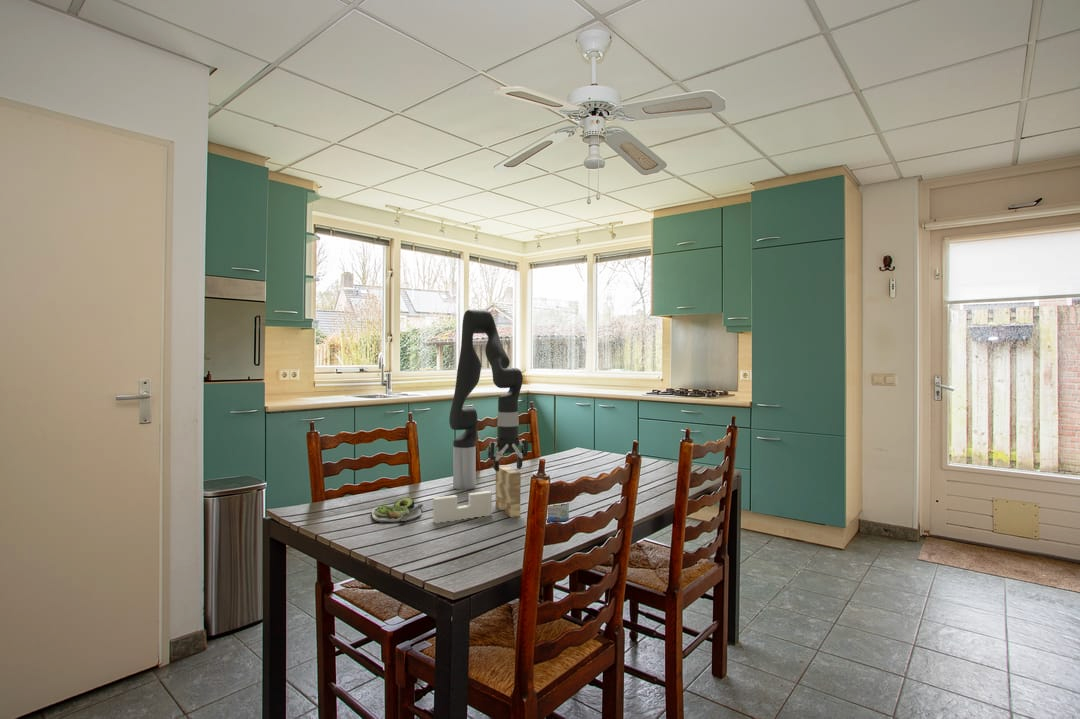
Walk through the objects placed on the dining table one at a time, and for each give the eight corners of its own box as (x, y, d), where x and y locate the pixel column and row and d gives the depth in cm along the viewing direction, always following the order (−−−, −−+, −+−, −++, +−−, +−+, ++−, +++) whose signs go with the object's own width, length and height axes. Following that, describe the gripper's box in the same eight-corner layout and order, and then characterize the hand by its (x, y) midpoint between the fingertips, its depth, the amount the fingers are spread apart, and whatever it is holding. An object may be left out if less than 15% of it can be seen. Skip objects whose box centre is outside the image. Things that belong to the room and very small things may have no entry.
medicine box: (545, 522, 181) (546, 496, 181) (543, 518, 186) (543, 493, 185) (569, 521, 182) (569, 495, 182) (566, 517, 187) (566, 492, 187)
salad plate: (427, 523, 180) (427, 509, 180) (371, 528, 175) (371, 514, 175) (422, 507, 199) (422, 494, 199) (371, 511, 193) (371, 498, 193)
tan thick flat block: (495, 506, 199) (495, 465, 198) (504, 505, 200) (504, 464, 200) (511, 517, 186) (511, 473, 186) (520, 515, 188) (520, 472, 188)
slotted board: (433, 521, 181) (433, 497, 181) (489, 513, 190) (489, 490, 190) (435, 523, 179) (435, 499, 179) (491, 515, 188) (491, 492, 188)
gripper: (521, 421, 199) (521, 466, 199) (485, 424, 193) (485, 469, 193) (530, 424, 193) (530, 469, 193) (493, 426, 186) (493, 473, 186)
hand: (507, 469), depth 193 cm, fingers open, 8 cm apart
